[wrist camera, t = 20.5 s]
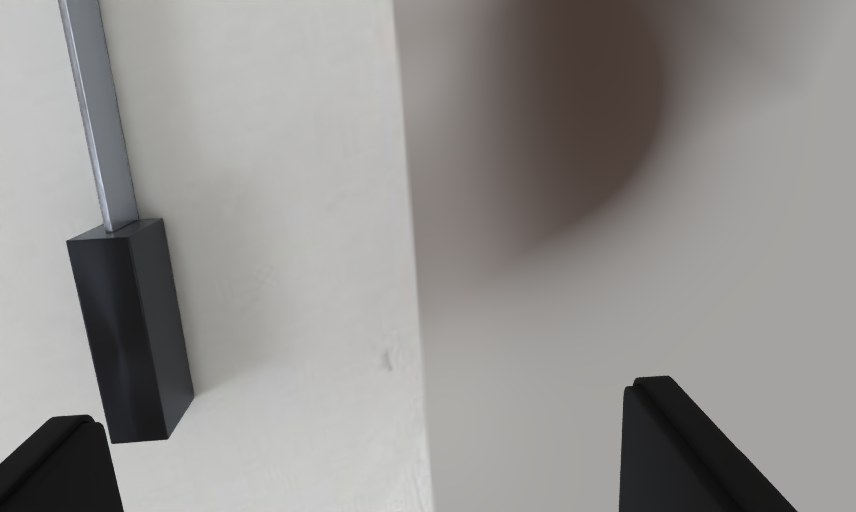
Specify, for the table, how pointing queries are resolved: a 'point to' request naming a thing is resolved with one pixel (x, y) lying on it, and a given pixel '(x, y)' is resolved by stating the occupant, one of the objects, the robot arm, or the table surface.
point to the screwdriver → (123, 263)
